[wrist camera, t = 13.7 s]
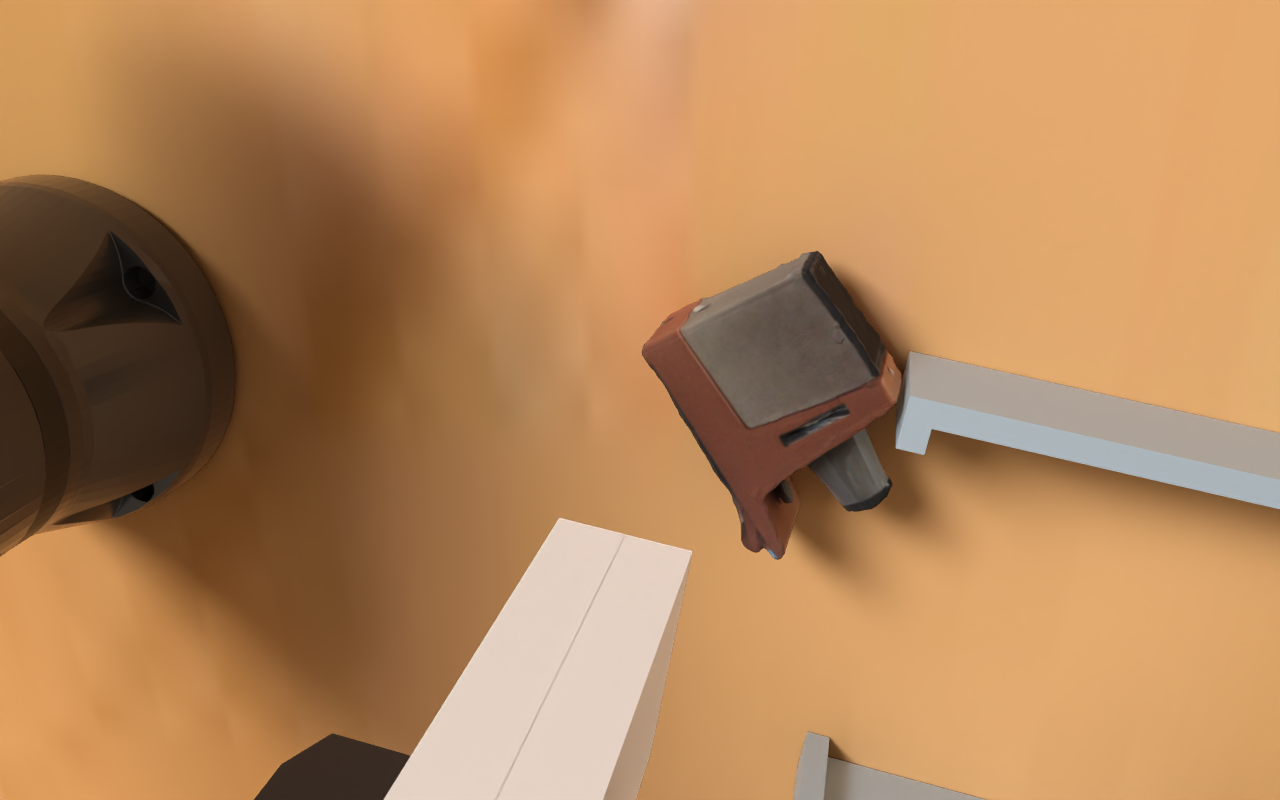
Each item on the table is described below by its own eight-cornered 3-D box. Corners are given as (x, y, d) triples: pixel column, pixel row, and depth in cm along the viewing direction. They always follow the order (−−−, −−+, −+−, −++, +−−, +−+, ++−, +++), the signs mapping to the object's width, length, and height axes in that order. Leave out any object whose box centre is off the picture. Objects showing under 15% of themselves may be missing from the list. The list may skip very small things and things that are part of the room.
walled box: (797, 767, 52) (786, 845, 47) (909, 351, 44) (910, 395, 40) (1312, 908, 49) (1354, 1007, 44) (1527, 488, 41) (1605, 553, 37)
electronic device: (754, 572, 44) (943, 505, 41) (631, 349, 42) (821, 261, 39) (773, 518, 48) (947, 453, 45) (661, 312, 46) (836, 229, 43)
